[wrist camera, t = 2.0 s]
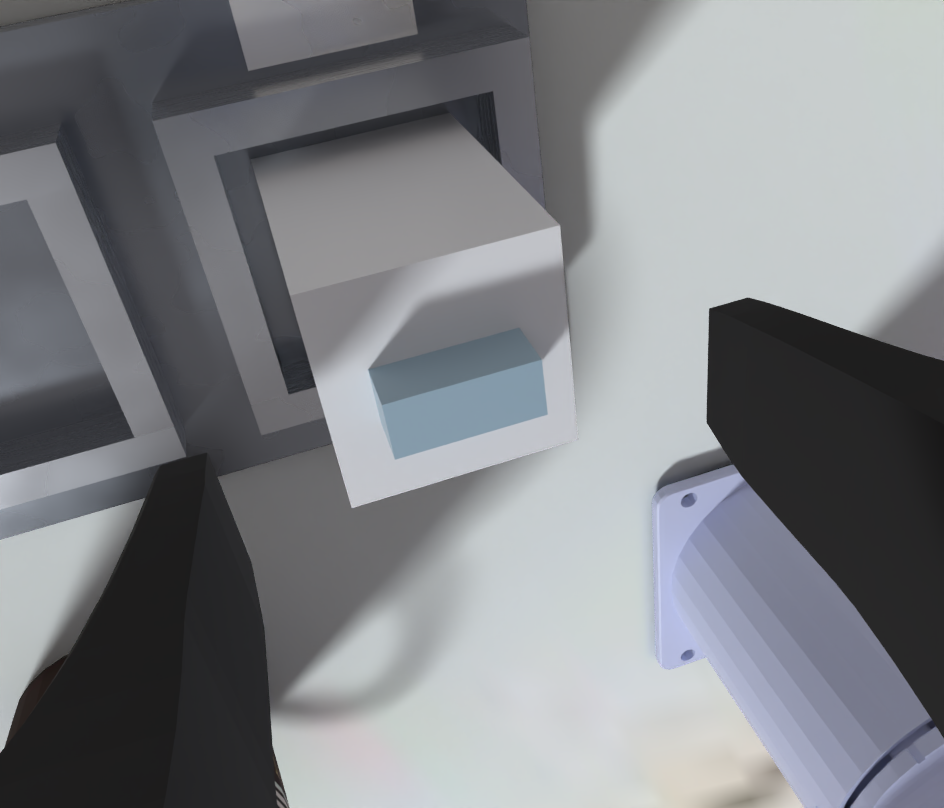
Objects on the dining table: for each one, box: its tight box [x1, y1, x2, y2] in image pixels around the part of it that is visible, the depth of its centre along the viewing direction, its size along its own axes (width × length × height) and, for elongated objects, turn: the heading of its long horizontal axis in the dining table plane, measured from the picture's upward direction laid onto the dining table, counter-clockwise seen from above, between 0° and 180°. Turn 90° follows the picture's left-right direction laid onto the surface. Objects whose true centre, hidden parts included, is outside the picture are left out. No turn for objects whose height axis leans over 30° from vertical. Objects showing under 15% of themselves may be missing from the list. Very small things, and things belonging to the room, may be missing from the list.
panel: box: [0, 0, 546, 540], centre depth 18 cm, size 16×10×2 cm, turn 96°
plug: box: [251, 113, 578, 508], centre depth 16 cm, size 4×4×7 cm
